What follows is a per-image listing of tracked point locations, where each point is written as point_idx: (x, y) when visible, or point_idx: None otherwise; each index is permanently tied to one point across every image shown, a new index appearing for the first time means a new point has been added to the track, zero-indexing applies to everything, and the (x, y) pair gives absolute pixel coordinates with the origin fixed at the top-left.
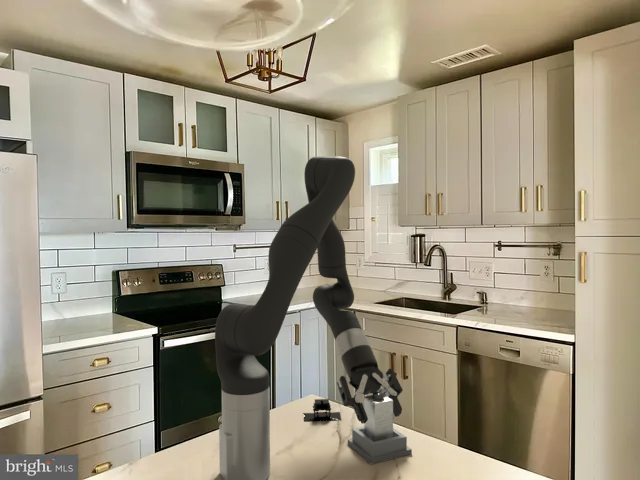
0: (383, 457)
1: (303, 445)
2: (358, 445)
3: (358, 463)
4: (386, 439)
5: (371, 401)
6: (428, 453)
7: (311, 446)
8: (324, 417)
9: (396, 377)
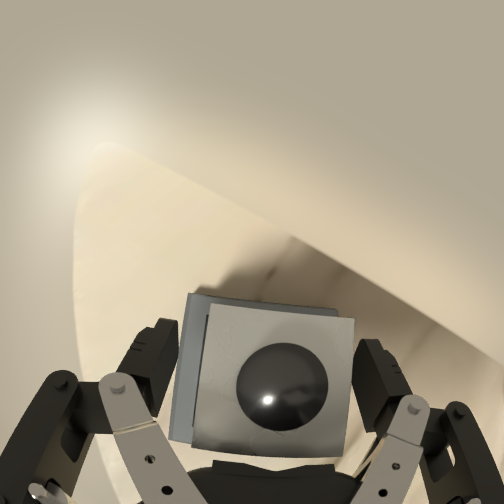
0: (293, 306)
1: (421, 474)
2: None
3: (358, 333)
4: None
5: (351, 362)
6: (149, 273)
7: None
8: None
9: (7, 443)
